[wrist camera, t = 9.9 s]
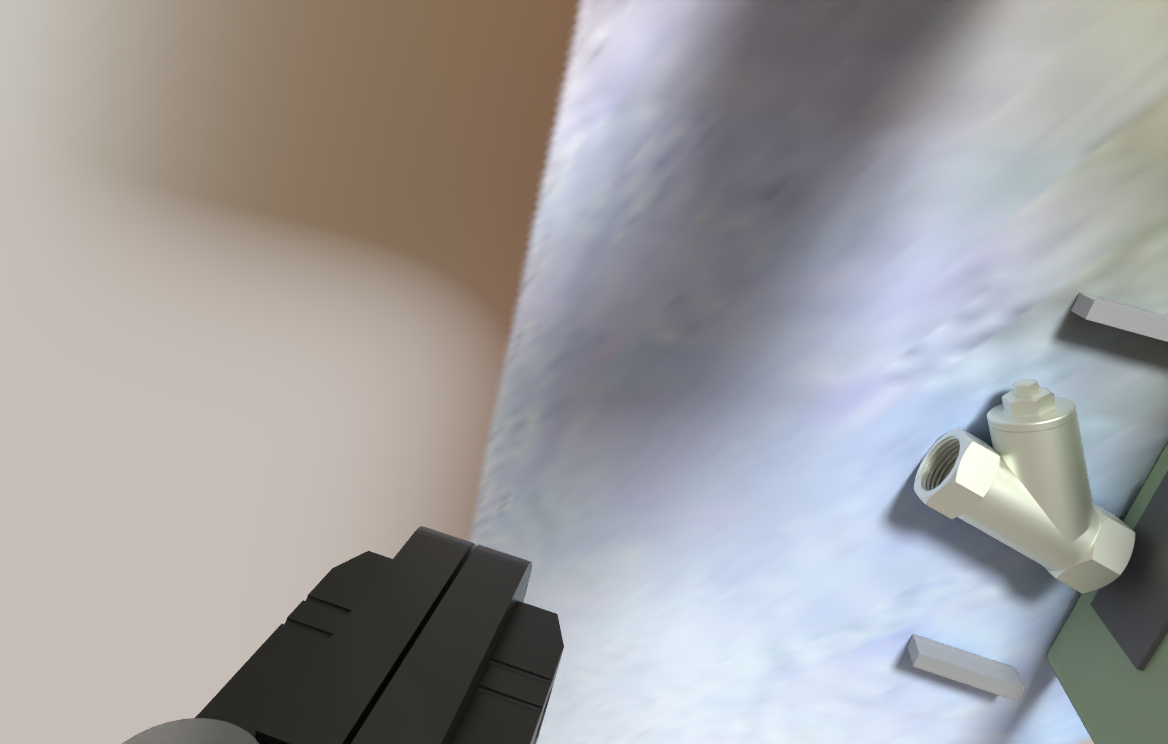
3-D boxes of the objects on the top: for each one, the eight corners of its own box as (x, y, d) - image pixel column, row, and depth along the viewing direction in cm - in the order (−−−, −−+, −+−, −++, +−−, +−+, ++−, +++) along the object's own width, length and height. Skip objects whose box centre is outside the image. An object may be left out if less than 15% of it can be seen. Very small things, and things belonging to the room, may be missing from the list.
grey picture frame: (1079, 292, 32) (1216, 361, 23) (1255, 340, 31) (1472, 432, 22) (906, 646, 38) (958, 814, 29) (1049, 693, 38) (1148, 881, 28)
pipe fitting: (994, 356, 34) (905, 477, 36) (1030, 378, 30) (928, 511, 32) (1154, 446, 34) (1056, 563, 36) (1209, 478, 30) (1096, 607, 32)
